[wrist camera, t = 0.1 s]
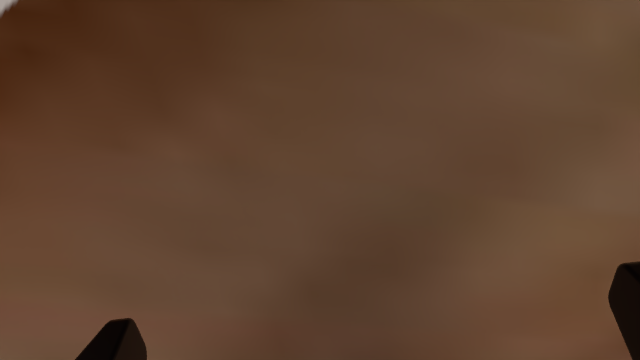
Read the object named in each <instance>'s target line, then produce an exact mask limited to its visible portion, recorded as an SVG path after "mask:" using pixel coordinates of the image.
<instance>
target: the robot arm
mask: <svg viewBox="0 0 640 360" xmlns="http://www.w3.org/2000/svg"><path fill="white" fill-rule="evenodd" d="M608 299H609V304H610V307H611V310H612V312H613V314H614V317H615V319H616V322H617V324H618V326H619V329H620V331H621V334H622V336H623V338H624V341H625V343H626V345H627V348H628V350H629V353H630V355H631V357H632V360H640V262H630V263H623V264H621V265H619V266H618V268H617V270H616V273H615V276H614V279H613V282H612V285H611V287H610V290H609V295H608ZM75 360H147V351H146V346H145V343H144V341H143V339H142V336H141V334H140V332H139V330H138V328H137V326H136V323H135V322H134V320H132V319H131V318H125V319H116V320H111V321H109V322H108V323H106V324H105V326H104V327H103V328H102V329H101V330H100V331H99V333H98V334H97V335H96V336H95V337H94V338H93V339H92V341H91V342H90V343H89V344H88V345H87V346H86V348H85V349H84V350H83V351H82V352H81V353H80V354H79V356H78V357H77V358H76V359H75Z"/></svg>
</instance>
